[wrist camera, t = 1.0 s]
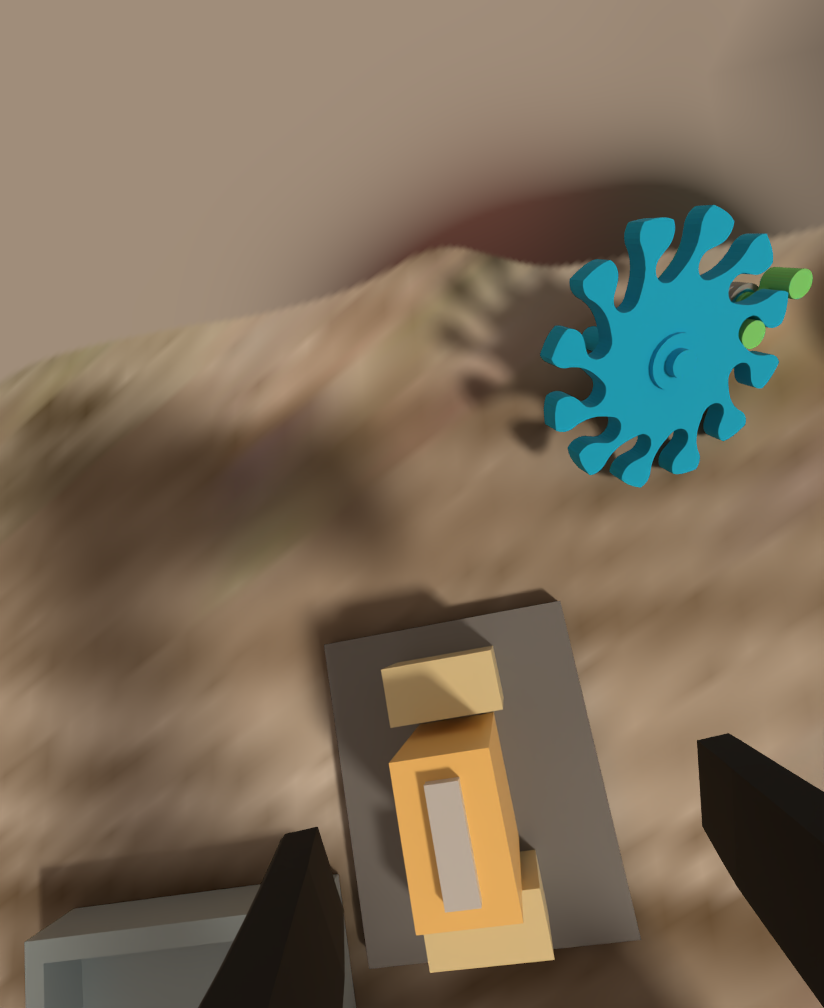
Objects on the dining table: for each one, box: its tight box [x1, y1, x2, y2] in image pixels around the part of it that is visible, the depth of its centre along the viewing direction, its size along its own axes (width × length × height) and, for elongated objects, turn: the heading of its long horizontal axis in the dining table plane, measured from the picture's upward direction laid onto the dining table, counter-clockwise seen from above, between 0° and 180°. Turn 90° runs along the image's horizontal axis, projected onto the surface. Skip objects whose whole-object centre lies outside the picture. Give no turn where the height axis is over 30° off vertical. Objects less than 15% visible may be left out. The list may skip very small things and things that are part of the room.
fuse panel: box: [324, 601, 641, 973], centre depth 20 cm, size 12×10×4 cm
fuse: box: [389, 712, 524, 935], centre depth 18 cm, size 4×3×6 cm, turn 10°
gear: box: [540, 205, 813, 488], centre depth 22 cm, size 11×6×10 cm
